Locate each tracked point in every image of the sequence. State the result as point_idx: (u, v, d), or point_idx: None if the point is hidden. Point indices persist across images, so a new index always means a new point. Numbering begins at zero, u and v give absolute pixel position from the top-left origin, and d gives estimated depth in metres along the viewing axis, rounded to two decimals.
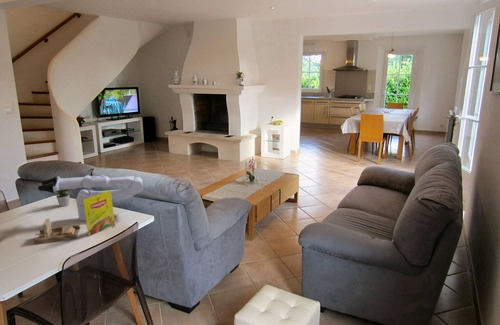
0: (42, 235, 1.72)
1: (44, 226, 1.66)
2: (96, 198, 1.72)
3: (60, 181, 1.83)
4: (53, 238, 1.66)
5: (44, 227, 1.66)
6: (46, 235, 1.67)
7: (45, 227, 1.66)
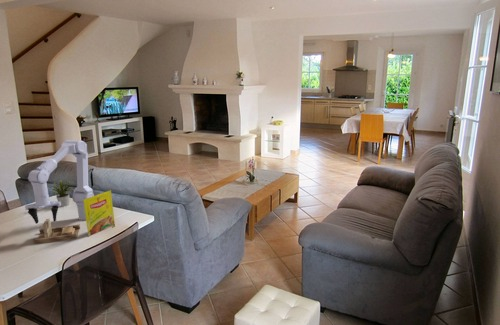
0: (42, 235, 1.72)
1: (44, 226, 1.66)
2: (96, 198, 1.72)
3: (46, 203, 1.65)
4: (53, 238, 1.66)
5: (44, 227, 1.66)
6: (46, 235, 1.67)
7: (45, 227, 1.66)
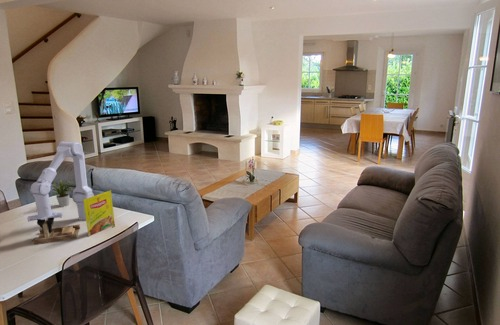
0: (42, 235, 1.72)
1: (44, 226, 1.66)
2: (96, 198, 1.72)
3: (48, 214, 1.66)
4: (53, 238, 1.66)
5: (44, 227, 1.66)
6: (46, 235, 1.67)
7: (45, 227, 1.66)
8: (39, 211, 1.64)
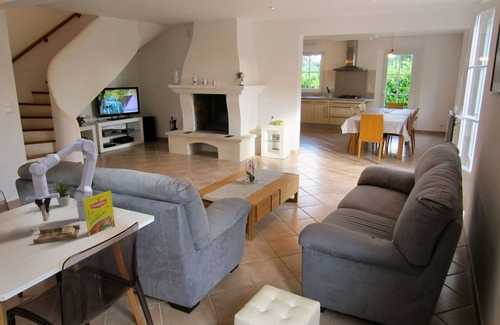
0: (42, 235, 1.72)
1: (42, 207, 1.72)
2: (96, 198, 1.72)
3: (45, 194, 1.72)
4: (53, 238, 1.66)
5: (42, 208, 1.72)
6: (44, 216, 1.74)
7: (43, 208, 1.73)
8: (37, 191, 1.71)
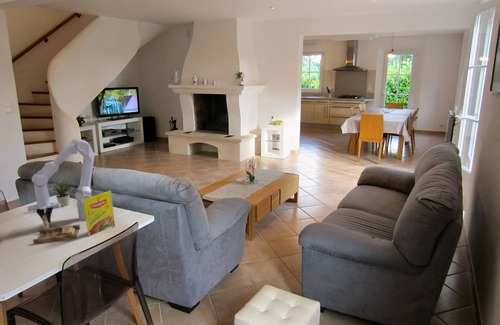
0: (42, 235, 1.72)
1: (44, 218, 1.76)
2: (96, 198, 1.72)
3: (47, 204, 1.76)
4: (53, 238, 1.66)
5: (44, 219, 1.76)
6: (45, 226, 1.77)
7: (45, 219, 1.76)
8: (38, 201, 1.74)
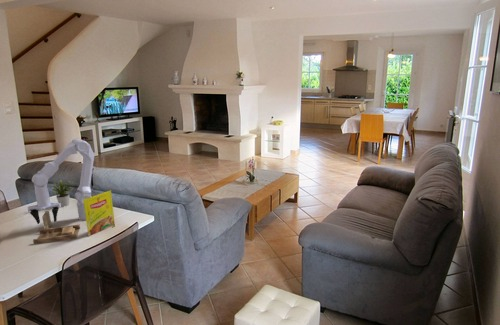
0: (42, 235, 1.72)
1: (44, 218, 1.76)
2: (96, 198, 1.72)
3: (47, 204, 1.76)
4: (53, 238, 1.66)
5: (44, 219, 1.76)
6: (45, 226, 1.77)
7: (45, 219, 1.76)
8: (38, 201, 1.74)
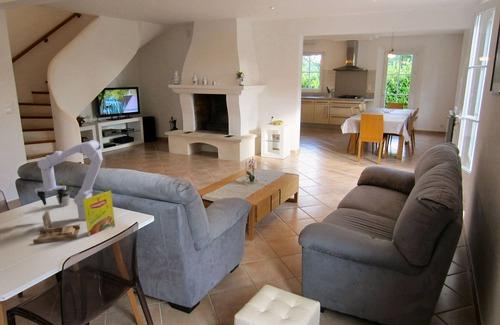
0: (42, 235, 1.72)
1: (44, 218, 1.76)
2: (96, 198, 1.72)
3: (53, 187, 1.86)
4: (53, 238, 1.66)
5: (44, 219, 1.76)
6: (45, 226, 1.77)
7: (45, 219, 1.76)
8: (45, 183, 1.84)
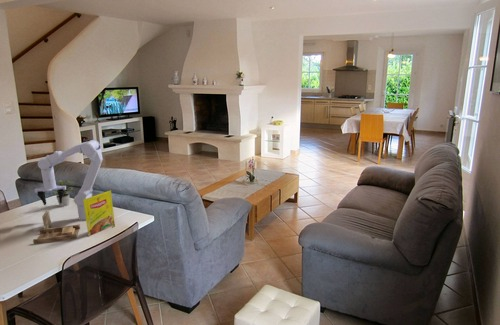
0: (42, 235, 1.72)
1: (44, 218, 1.76)
2: (96, 198, 1.72)
3: (53, 186, 1.86)
4: (53, 238, 1.66)
5: (44, 219, 1.76)
6: (45, 226, 1.77)
7: (45, 219, 1.76)
8: (45, 183, 1.84)
